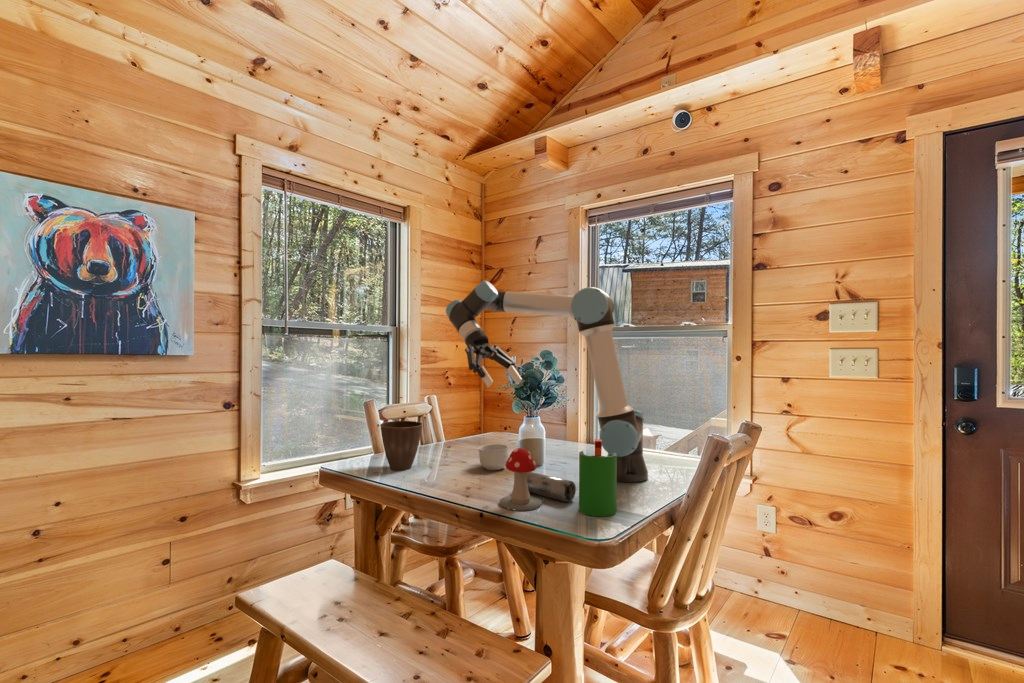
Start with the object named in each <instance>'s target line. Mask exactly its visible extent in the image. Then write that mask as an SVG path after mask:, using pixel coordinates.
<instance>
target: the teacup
mask: <svg viewBox="0 0 1024 683" xmlns="http://www.w3.org/2000/svg"><path fill="white" fill-rule="evenodd" d="M478 453H479V456H478V457H479V463H480V465H481V466H482V467H483V468H484V469H485V470H488V471H500V470H502V469H504V468H505V467H506V466H505V465H506V461H507V460H508V458H509V446H508V445H507V444H501V443H492V444H491V443H485V444H484V445H481V446H479V447H478Z"/></svg>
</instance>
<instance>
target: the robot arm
mask: <svg viewBox="0 0 1024 683" xmlns="http://www.w3.org/2000/svg"><path fill="white" fill-rule="evenodd" d="M484 310H486V311H491V312H495V313H497V312H501V313H502V312H504V313H506V312H507V313H515V314H517V313H518V314H528V315H529V314H530V315H531V314H532V315H541V316H551V317H552V316H553V317H554V316H555V317H566V318H572V319H573V320H574V321H576V323H577V327H578V328H577V329H578V331H579V334H580V335H582V336H583V337H584V339H585V342H586V346H587V347H586V348H587V352H588V357H589V361H590V366H591V369H592V370H591V371H592V375H593V379H594V383H595V389H596V394H597V397H598V398H597V399H598V403H599V407H600V410H599V413H598V414H597V420H598V424H599V429H600V431H599V439H602V448H603V450H604V451H605V452H606V453H607V455H606V456H612V455H613V453H616V454H617V482H619V483H639V482H638V481H641V482H644V480H645V481H647V480H648V477H649V471H648V468H647V465H646V464H647V463H646V461H645V458H644V455H643V454H644V453H643V452H644V443H643V442H644V440H643V439H644V435H643V434H644V424H643V423H644V413H643V412H642V411H641V410H635V408H633V407H632V406H630V405H629V404H628V400H627V396H626V395H627V394H626V390H625V386H624V383H623V378H622V374H621V368H620V364H619V360H618V356H617V351H616V346H615V342H614V336H613V333H612V331H613V329H614V328H615V326H616V324H615V320H614V319H615V318H614V315H613V314H614V310H615V305H614V302H613V299H612V297H611V296H610V295H609V294H608V293H606V292H605V291H604V290H602V289H601V288H600V287H596V286H595V287H594V286H588V287H585V288H581V289H580V290H578V291H577V292H576V293H575V294H574V295H568V294H567V295H566V294H552V293H551V294H550V293H534V292H523V291H521V292H519V291H507V290H506V291H504V290H497V288H496V287H495V286H494V285H493V284H492V283H491V282H489V281H488V280H485V279H484V280H481V282H480V283H478V284H477V285H476V286H475V287H474V289H472V290H471V291H470V293H468V294H467V296H465V298H464V299H463V300H461V299H454V300H453V301H452V302H451V301H450V302H449V303H448V304H447V305H446V308H445V314H446V316H447V318H448V320H449V321H450V323H451V324H452V326H453V327H454V328H455V330H456V331H457V333H458V334H459V336H460V338H461V339H462V341H463V342H464V343H465V345H466V347H465V349H464V352H465V353H466V357H467V364H468V369H469V370H470V371H472V372H473V373H474V374H476V373H477V374H478V376H479V378H481V380H482V381H483V382H484V384H485V385H486V387H487V388H490V386H492V384H493V383H494V380H493V378H492V376H491V375H490V374H489V372H488V370H487V369H486V367H485V365H482V362H483V359H489V360H491V361H495V362H496V363H498V364H500V366H502V367H503V368H505V369H506V372H508V374H509V377H511V379H512V380H513V382H514V383H515V384H516V385H519V384H520V383H521V382H522V380H523V378H522V377H521V375H520V374H519V372H518V370H517V369H516V367H515V365H516V364H517V362H516V361H515V360H514V359H513V358H512V357H510V356H509V355H508V354H507V353H506V352H505V351H503V349H501V348H500V347H499V345H497V344H494V345H493V346H492V345H491V344H490V343H489V337H488V336H487V334H486V333H485V331H484V330H483V328H482V327H481V325H480V324H479V323H478V321H477V320H476V318H477V317H478V316H479V315H480V314H481V313H482V312H483V311H484Z"/></svg>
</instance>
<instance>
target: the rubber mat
mask: <svg viewBox="0 0 1024 683" xmlns="http://www.w3.org/2000/svg"><path fill="white" fill-rule="evenodd" d="M500 505H501V506H503V507H505V508H509V509H515V510H529V511H532V510H531V509H534V510H537V509H536V508H538V507H540V506H541V505H543V500H542V499H541V498H539V497H537V496H534V495H530V500H529V503H527V504H516V503H514V502H513V501H512V499H511V495H507V496H504V497H502V498H500V500H499V506H500ZM501 506H500V507H501ZM503 507H502V508H503ZM541 507H542V506H541ZM541 507H540V508H541ZM505 508H504V509H505ZM509 509H508V510H509ZM538 509H539V508H538ZM515 510H514V511H515Z"/></svg>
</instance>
